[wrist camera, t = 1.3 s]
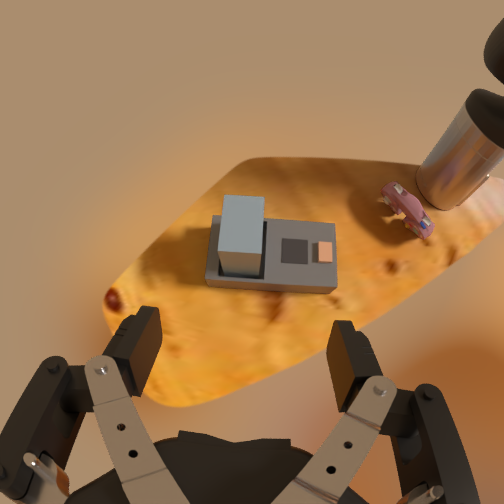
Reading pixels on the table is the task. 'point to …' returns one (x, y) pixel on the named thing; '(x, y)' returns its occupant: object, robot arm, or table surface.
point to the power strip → (283, 258)
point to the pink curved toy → (408, 209)
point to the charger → (241, 236)
